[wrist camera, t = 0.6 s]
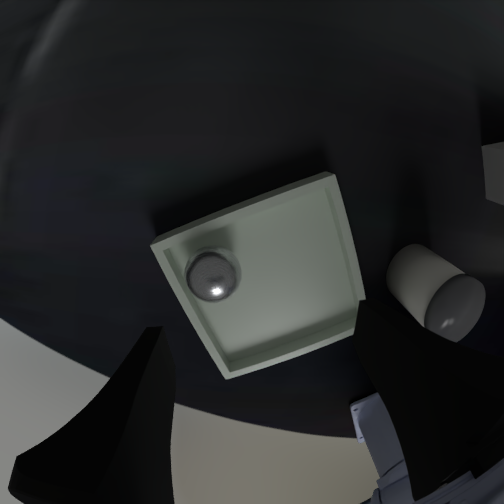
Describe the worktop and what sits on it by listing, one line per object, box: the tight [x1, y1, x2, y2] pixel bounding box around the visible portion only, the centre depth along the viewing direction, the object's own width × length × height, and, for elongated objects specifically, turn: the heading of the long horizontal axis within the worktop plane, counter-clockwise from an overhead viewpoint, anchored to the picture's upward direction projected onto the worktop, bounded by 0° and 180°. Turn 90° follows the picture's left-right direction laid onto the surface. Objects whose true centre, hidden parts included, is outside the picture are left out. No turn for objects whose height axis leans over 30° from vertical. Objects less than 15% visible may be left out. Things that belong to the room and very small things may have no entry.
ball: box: [184, 245, 242, 303], centre depth 18 cm, size 4×4×4 cm
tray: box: [150, 171, 366, 379], centre depth 20 cm, size 12×12×2 cm
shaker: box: [386, 244, 485, 342], centre depth 19 cm, size 5×5×7 cm
